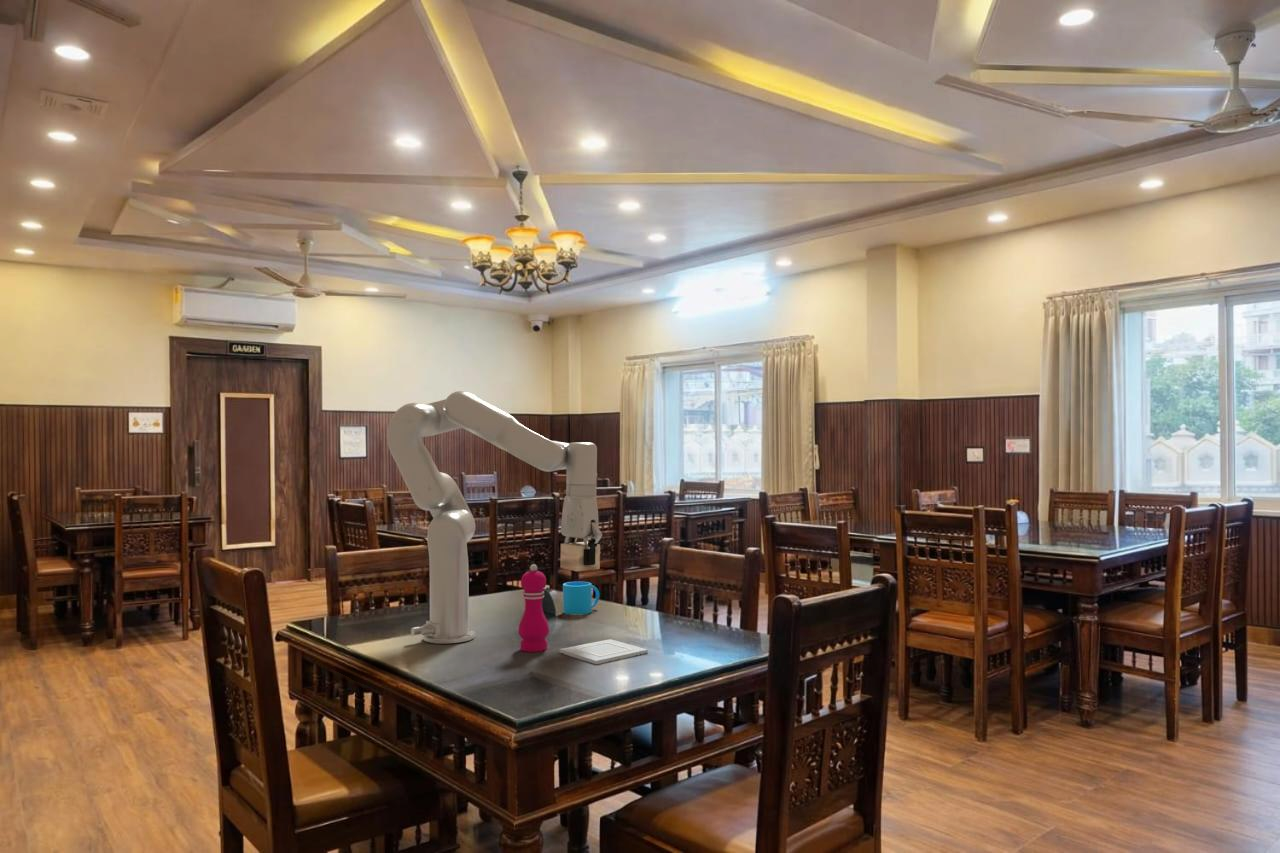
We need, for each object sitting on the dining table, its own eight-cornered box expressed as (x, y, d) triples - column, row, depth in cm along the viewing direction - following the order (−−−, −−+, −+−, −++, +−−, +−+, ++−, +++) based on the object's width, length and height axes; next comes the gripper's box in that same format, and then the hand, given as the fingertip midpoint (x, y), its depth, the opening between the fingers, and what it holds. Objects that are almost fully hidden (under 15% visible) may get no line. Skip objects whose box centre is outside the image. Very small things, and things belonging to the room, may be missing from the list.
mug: (574, 616, 237) (574, 587, 237) (557, 612, 243) (557, 583, 243) (607, 610, 245) (607, 582, 245) (590, 606, 251) (590, 579, 251)
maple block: (576, 571, 206) (577, 546, 206) (560, 567, 211) (560, 543, 211) (599, 568, 210) (600, 544, 211) (582, 565, 216) (583, 541, 216)
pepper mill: (550, 645, 204) (549, 561, 204) (548, 652, 197) (547, 566, 197) (520, 645, 204) (519, 562, 204) (516, 652, 196) (516, 566, 197)
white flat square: (596, 664, 186) (596, 660, 186) (559, 652, 196) (559, 648, 196) (647, 653, 195) (647, 649, 195) (610, 642, 206) (610, 638, 206)
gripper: (549, 490, 215) (547, 560, 215) (590, 494, 202) (588, 568, 202) (573, 489, 220) (571, 557, 220) (614, 493, 207) (613, 566, 207)
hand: (580, 562), depth 211 cm, fingers closed on maple block, 7 cm apart
